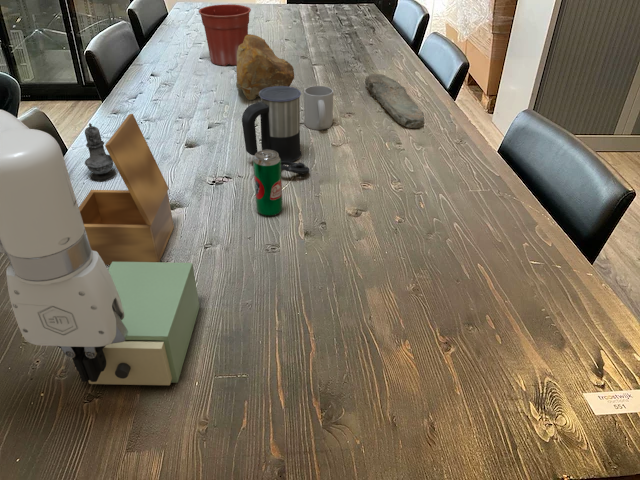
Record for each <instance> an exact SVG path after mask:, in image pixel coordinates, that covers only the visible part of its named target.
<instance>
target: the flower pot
mask: <svg viewBox="0 0 640 480" xmlns="http://www.w3.org/2000/svg"><path fill="white" fill-rule="evenodd" d="M251 12H252V8H251V7H249V6H247V5H242V4H232V3H231V4H230V3H228V4H214V5H207V6H204V7H201V8H199V9H198V14H199V15H200V18H201V23H202V25H203V28H204V33H205V38H206V42H207V48H208V54H209V57H210V62H211V64H214V65H217V66H222V67H223V66H224V67H225V66H228V65H230V66H237V50H238V46H239V45H240V44H242V43H243V41H244V38H245V36H246V35H247V34H249V24H250V13H251Z"/></svg>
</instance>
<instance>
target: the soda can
mask: <svg viewBox="0 0 640 480" xmlns="http://www.w3.org/2000/svg"><path fill="white" fill-rule="evenodd" d="M257 151H258V152H257V153H256V154H255V155H254V158H253V160H252V163H253V165H252V167H253V177H254V179H253V180H254V189H255V190H254V193H255V206H256V208H255V209H256V211H257V212H258V213H259V214H260V215H262V216H263V217H273V216H277V215H279V214H281V212H282V210H283V207H284V206H283V180H282V169H281V158H280V157H279V154H278V153H277V152H276V151H274V150H262V149H261V150H257Z"/></svg>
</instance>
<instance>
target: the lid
mask: <svg viewBox="0 0 640 480" xmlns="http://www.w3.org/2000/svg"><path fill="white" fill-rule="evenodd" d="M104 148H105V149H106V151H107V152H108V155H110V156H111V158H112V160H113V165H114V166H115V168H116V169H117V171H118V174H119V175H120V177H121V179H122V181H123V183H124V185H125V186H126V188H127V190H129V192H130V194H131V196H132V198H133V200H134V201H135V203H136V205H137V207H138V209H139V211H140V213H141V215H142V216H143V218H144V220H145V222H146V224H147V226H148V225H151V224H152V222H153V220H154V218H155V216H156V214H157V212H158V210H159V208H160V206H161V203H162V201H163V199H164V197H165V195H166V193H167V191H168V192H169V189H170V187H169V185H168V184H167V181H166V179H165V177H164V176H163V174H162V171H161V169H160V167H159V165H158V163H157V161H156V159H155V157H154V155H153V153H152V150H151V149H150V148H151V147H150V146H149V144H148V143H147V140H146V138H145V136H144V134H143V132H142V130H141V128H140V125H139V124H138V121H137V120H136V117H135V115H134V113H129V114H128V115H127V116H126V117H125V118H124V120H123V121H122V122H121V124H120V125H119V127H118V128H117V129H116V130H115V132H114V133H113V134H112V135H111V137H110V138H109V139H108V141H107V142H106V143H105V144H104Z"/></svg>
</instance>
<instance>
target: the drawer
mask: <svg viewBox="0 0 640 480" xmlns="http://www.w3.org/2000/svg"><path fill="white" fill-rule="evenodd" d="M103 352H104V355H105V358H106V367H105V369H104V371H103V372H101V373H100V376H99V378H98V380H97V382H91V381H90V380H89V381H88V384H90V385H120V386H121V385H122V386H123V385H127V386H129V385H131V386H170V385H171V383H172V382H171V380H172V376H171V371H170V367H169V363H168V358H167V354H166V349H165V345H164V342H163V341H161V340H125V341H124V342H119V343H113V344H109V345H106V346H105V347H104V348H103Z"/></svg>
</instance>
